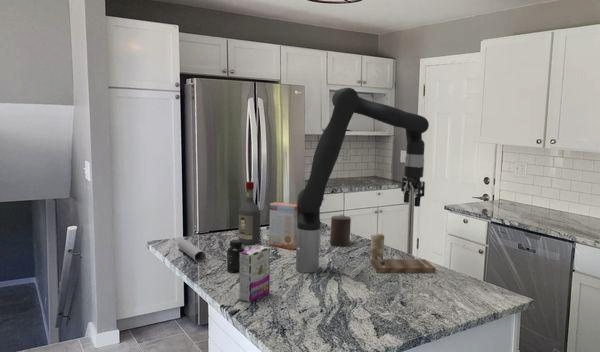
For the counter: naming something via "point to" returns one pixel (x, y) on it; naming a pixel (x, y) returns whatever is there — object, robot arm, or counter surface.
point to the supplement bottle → (234, 256)
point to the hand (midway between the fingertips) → (411, 204)
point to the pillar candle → (340, 231)
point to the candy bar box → (254, 273)
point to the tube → (192, 251)
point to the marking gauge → (377, 247)
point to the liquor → (249, 218)
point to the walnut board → (402, 266)
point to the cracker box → (283, 225)
